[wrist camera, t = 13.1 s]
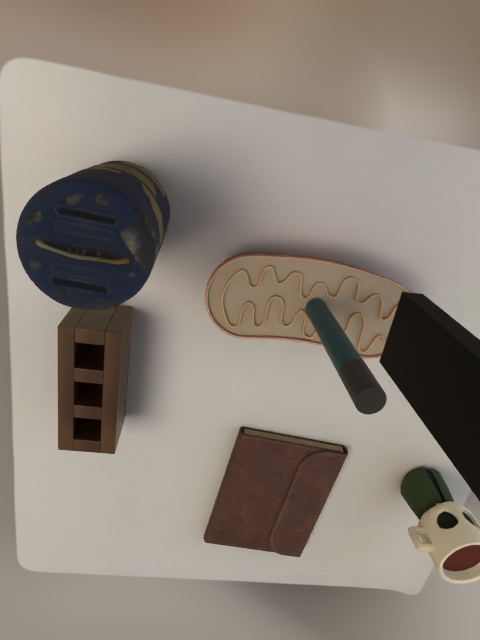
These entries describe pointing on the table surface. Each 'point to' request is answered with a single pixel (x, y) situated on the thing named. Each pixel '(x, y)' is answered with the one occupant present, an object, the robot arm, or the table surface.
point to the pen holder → (93, 378)
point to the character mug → (443, 527)
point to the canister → (94, 235)
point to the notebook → (273, 491)
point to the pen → (346, 359)
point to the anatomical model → (300, 299)
